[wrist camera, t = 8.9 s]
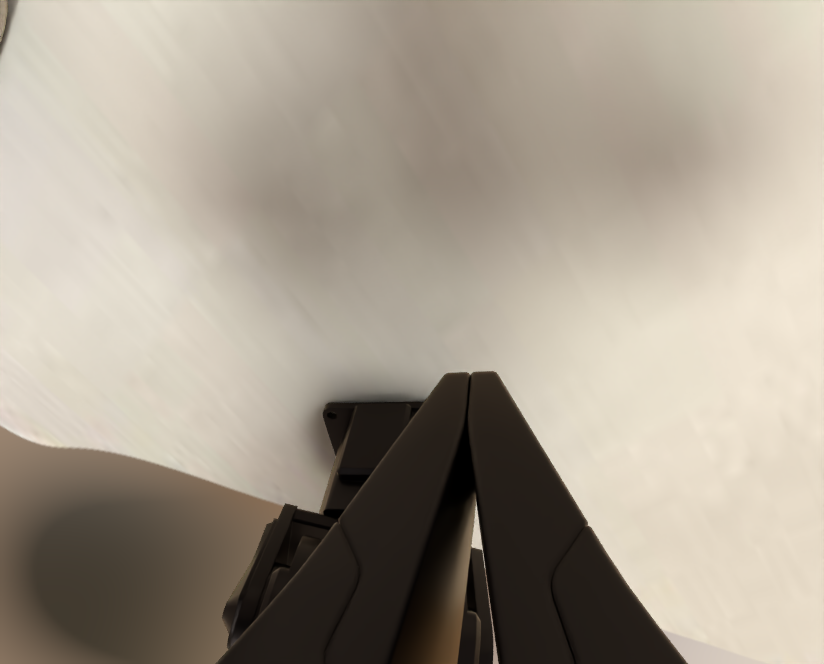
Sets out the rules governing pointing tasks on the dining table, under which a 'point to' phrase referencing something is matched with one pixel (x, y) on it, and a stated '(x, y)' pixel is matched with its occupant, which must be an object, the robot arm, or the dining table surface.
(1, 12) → the ceramic mug
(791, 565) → the dining table surface
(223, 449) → the dining table surface
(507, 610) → the robot arm
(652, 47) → the dining table surface
